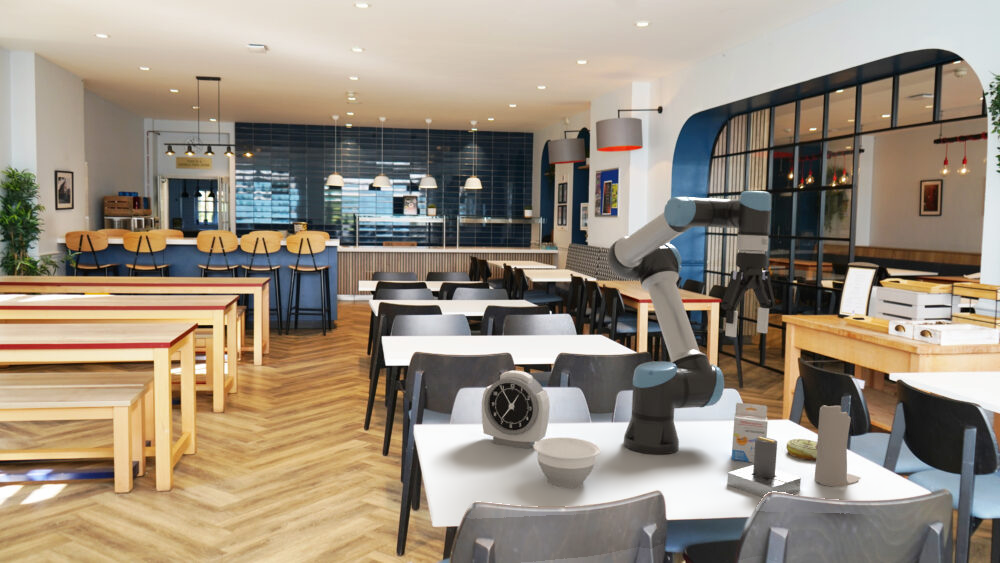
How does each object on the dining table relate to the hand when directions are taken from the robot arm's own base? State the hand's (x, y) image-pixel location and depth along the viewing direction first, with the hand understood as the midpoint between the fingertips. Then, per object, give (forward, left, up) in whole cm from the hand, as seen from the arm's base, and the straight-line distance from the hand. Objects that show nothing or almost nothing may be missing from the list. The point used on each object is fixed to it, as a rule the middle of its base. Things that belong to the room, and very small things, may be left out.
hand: (746, 334), depth 197 cm
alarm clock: (-59, -10, -35) cm, 69 cm away
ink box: (+2, +7, -35) cm, 36 cm away
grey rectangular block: (+7, -14, -34) cm, 38 cm away
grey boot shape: (+24, +1, -35) cm, 42 cm away
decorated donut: (+17, +19, -35) cm, 43 cm away
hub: (+7, -14, -35) cm, 38 cm away
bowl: (-37, -33, -35) cm, 61 cm away
